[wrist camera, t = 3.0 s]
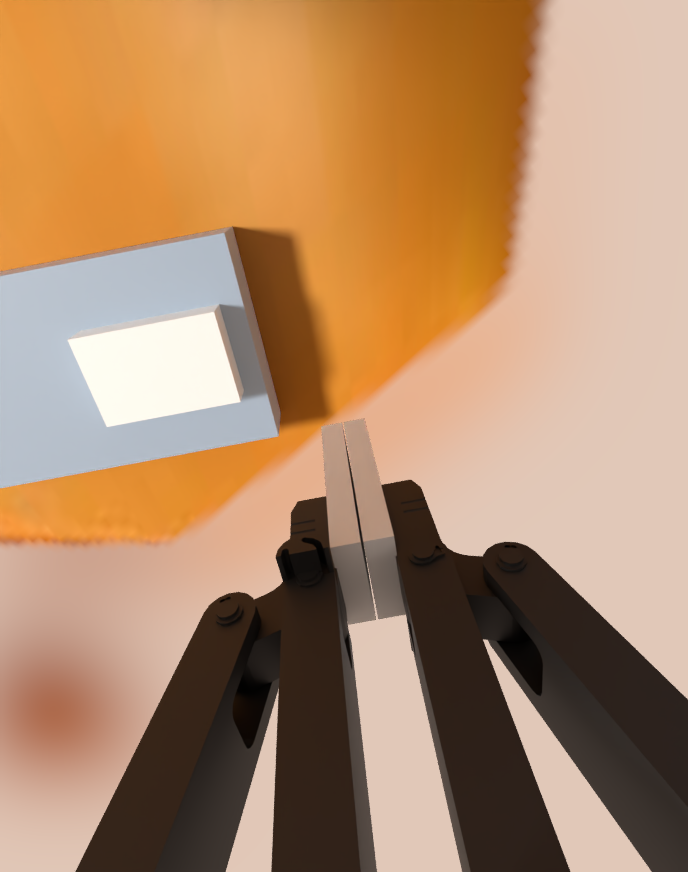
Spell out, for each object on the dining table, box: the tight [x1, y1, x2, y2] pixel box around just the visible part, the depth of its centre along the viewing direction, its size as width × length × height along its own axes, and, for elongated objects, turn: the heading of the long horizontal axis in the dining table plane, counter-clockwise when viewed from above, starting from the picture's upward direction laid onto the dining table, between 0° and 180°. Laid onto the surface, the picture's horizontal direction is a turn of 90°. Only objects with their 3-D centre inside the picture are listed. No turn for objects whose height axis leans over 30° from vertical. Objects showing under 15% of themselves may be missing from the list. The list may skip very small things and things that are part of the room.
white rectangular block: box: [68, 304, 244, 427], centre depth 32 cm, size 9×6×2 cm, turn 100°
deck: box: [0, 227, 281, 488], centre depth 35 cm, size 22×14×4 cm, turn 100°
